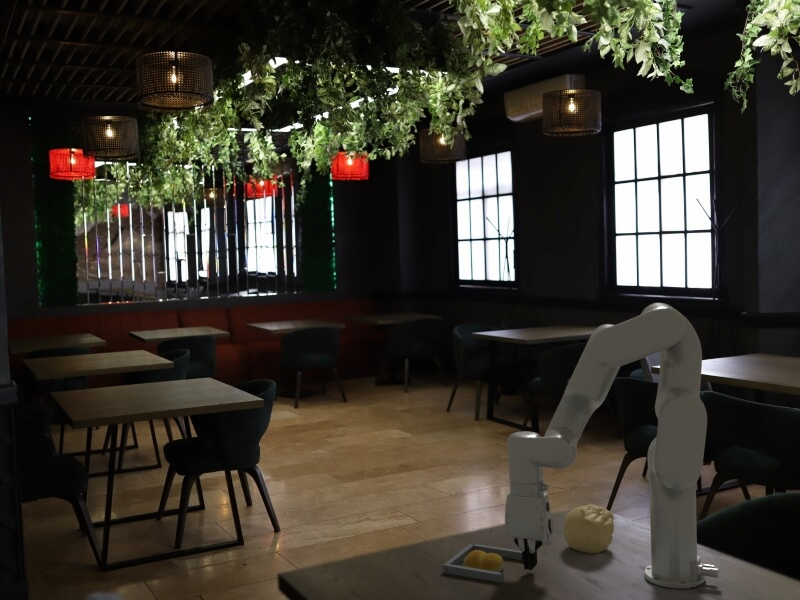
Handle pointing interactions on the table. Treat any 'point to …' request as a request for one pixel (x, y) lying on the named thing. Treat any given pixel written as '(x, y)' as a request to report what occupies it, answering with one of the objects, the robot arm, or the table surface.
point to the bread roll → (484, 561)
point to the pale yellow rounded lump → (589, 528)
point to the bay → (454, 569)
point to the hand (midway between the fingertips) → (530, 567)
